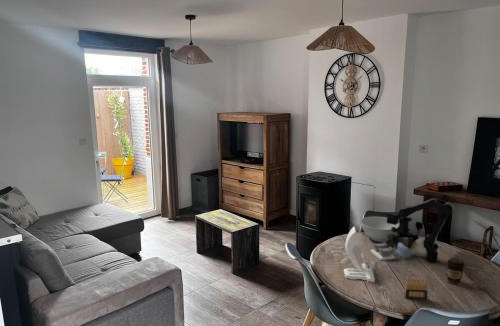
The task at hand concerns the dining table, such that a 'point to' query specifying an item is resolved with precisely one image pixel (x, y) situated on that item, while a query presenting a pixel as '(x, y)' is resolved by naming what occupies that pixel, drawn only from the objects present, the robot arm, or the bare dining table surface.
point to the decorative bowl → (377, 228)
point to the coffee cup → (454, 270)
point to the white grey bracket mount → (382, 251)
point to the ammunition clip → (416, 289)
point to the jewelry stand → (356, 273)
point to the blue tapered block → (403, 250)
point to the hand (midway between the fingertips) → (402, 249)
